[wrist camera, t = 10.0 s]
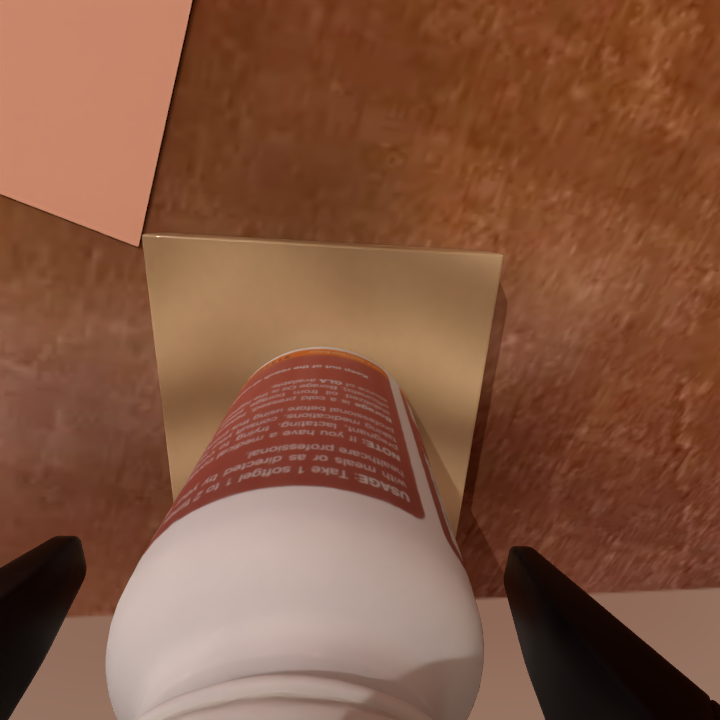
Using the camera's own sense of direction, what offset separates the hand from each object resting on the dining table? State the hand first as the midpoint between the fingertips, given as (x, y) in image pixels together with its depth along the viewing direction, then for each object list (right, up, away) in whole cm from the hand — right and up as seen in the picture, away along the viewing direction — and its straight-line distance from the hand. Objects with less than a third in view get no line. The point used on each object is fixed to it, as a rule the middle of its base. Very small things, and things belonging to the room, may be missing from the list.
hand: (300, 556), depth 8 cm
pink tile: (-10, +17, +2) cm, 20 cm away
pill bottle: (0, +2, +6) cm, 6 cm away
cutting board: (0, +3, +7) cm, 8 cm away
